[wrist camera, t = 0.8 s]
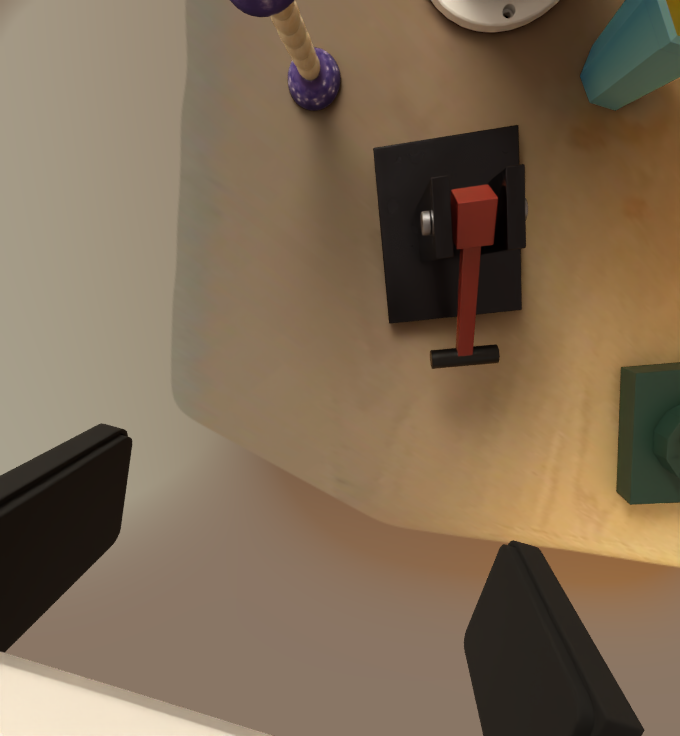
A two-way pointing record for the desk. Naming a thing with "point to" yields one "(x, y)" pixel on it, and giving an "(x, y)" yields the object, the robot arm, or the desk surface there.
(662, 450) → the control block
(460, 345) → the lever
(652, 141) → the desk surface
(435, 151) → the bracket
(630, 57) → the cup
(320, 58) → the toy lamp
